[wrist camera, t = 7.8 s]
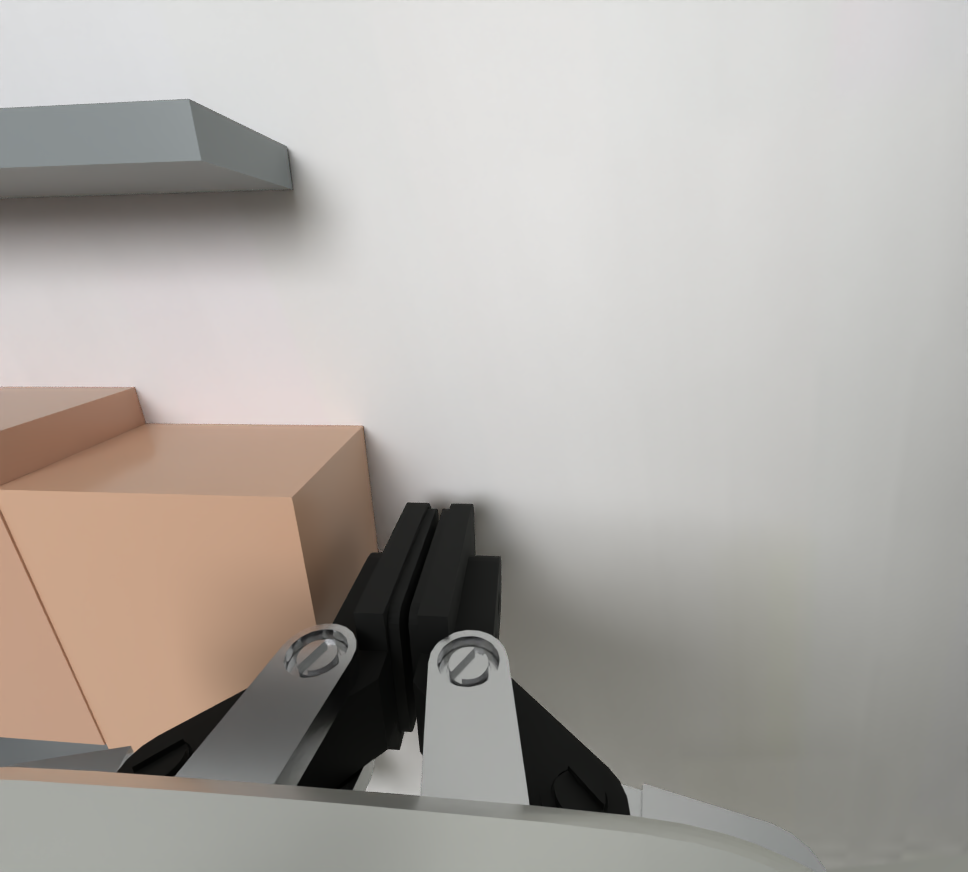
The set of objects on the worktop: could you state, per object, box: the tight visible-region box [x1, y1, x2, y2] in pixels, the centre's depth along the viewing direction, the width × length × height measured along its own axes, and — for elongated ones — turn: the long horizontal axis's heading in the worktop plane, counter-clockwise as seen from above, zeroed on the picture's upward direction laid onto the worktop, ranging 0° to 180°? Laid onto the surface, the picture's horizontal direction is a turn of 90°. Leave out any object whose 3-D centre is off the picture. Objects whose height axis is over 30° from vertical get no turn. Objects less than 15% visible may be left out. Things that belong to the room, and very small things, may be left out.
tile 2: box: [0, 423, 378, 752], centre depth 12 cm, size 6×8×4 cm
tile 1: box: [0, 387, 146, 745], centre depth 12 cm, size 6×8×4 cm
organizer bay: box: [0, 99, 293, 767], centre depth 12 cm, size 14×18×3 cm
